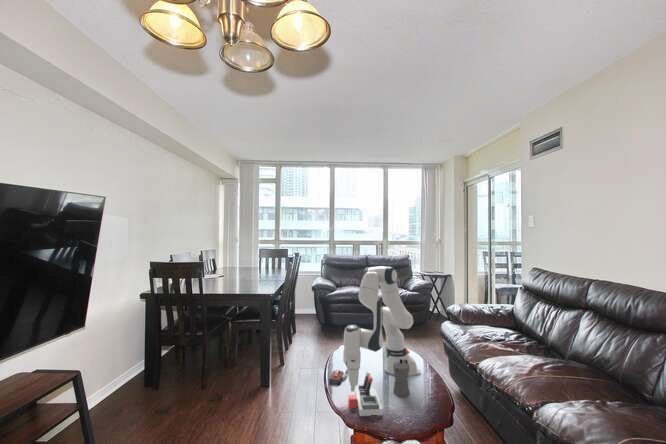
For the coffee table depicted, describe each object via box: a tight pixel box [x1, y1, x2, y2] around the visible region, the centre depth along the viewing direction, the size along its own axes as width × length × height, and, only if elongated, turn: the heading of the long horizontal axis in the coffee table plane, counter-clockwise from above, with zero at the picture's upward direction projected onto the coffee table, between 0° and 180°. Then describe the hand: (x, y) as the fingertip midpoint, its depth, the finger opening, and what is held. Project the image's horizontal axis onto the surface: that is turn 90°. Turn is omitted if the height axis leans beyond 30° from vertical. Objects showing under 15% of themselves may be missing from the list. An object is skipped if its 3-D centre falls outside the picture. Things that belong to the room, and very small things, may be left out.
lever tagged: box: [364, 375, 374, 395], centre depth 154 cm, size 2×3×10 cm
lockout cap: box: [347, 394, 358, 409], centre depth 151 cm, size 4×4×4 cm
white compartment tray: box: [354, 384, 383, 417], centre depth 153 cm, size 11×19×5 cm, turn 3°
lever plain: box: [362, 370, 371, 389], centre depth 160 cm, size 2×3×10 cm
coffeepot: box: [393, 359, 411, 398], centre depth 165 cm, size 15×9×18 cm, turn 146°
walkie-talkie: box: [328, 369, 348, 385], centre depth 182 cm, size 9×4×20 cm
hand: (351, 385), depth 151 cm, fingers open, 8 cm apart
